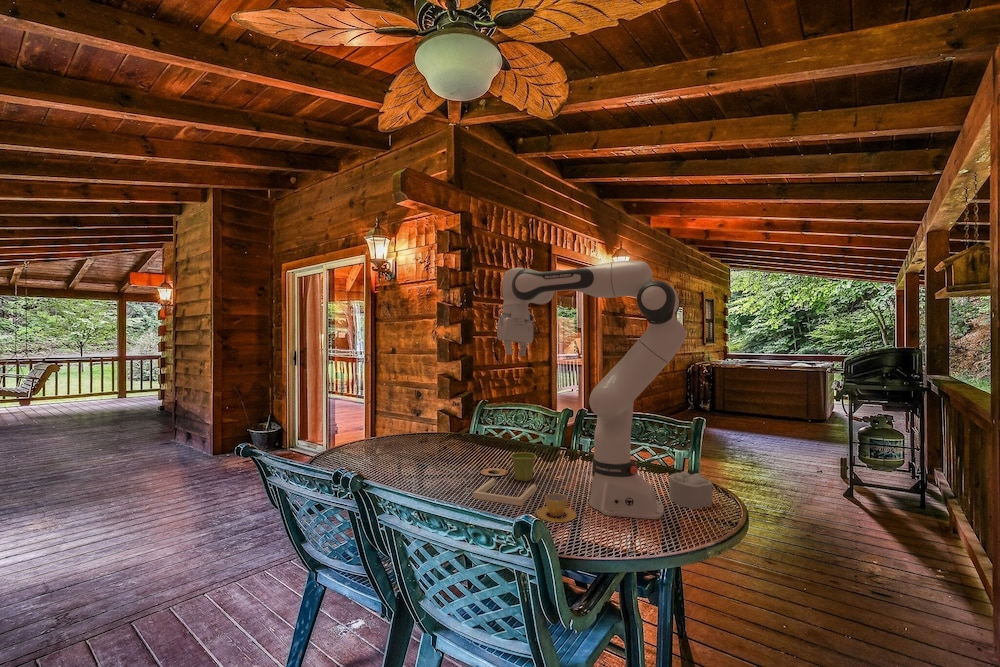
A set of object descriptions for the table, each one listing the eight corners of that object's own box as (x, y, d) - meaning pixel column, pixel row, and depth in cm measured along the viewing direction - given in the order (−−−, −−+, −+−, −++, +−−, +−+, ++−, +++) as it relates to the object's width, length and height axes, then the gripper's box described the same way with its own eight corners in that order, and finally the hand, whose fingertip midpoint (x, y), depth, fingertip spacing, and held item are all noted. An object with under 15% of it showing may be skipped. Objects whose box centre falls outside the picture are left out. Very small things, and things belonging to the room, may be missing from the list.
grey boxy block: (692, 511, 140) (692, 482, 140) (660, 497, 152) (661, 470, 152) (716, 506, 144) (717, 478, 144) (684, 492, 156) (684, 467, 156)
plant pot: (506, 477, 172) (506, 453, 172) (528, 473, 176) (528, 451, 176) (517, 484, 163) (517, 460, 163) (540, 481, 167) (541, 457, 167)
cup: (572, 526, 129) (573, 506, 129) (531, 520, 133) (531, 501, 133) (579, 510, 141) (580, 492, 141) (541, 505, 144) (541, 488, 144)
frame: (536, 490, 157) (536, 484, 157) (520, 506, 143) (520, 499, 143) (491, 484, 163) (491, 478, 163) (473, 498, 149) (473, 492, 149)
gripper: (509, 310, 149) (509, 353, 148) (536, 317, 167) (537, 356, 166) (492, 312, 152) (492, 354, 151) (520, 319, 170) (521, 356, 169)
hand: (516, 355), depth 158 cm, fingers open, 8 cm apart
